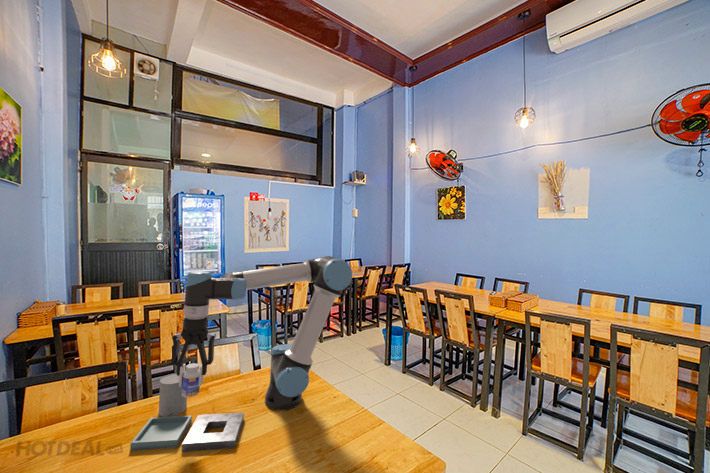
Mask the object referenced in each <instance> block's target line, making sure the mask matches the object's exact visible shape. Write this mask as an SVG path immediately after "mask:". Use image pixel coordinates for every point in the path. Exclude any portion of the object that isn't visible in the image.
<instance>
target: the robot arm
mask: <svg viewBox="0 0 710 473" xmlns="http://www.w3.org/2000/svg"><path fill="white" fill-rule="evenodd" d="M352 280H353V270H352V267H351V266H350V265H349V263H348V262H347V261H345V260H344V259H342V258H339V257H334V256H330V255H328V256H322V257H317V258H312V259H307V260H305V261H304V262H302V263H296V264H288V265H281V266H275V267H267V268H259V269H253V270H252V269H251V270H244V271H239V272H226V273H224V274H222V275H221V277H212V273H211V272H210V271H203V270H202V271H201V270H196V271H195V270H194V271H189V272H188V273H187V276H186V283H185V289H184V290H185V293H184V294H185V295H184V305H183V306H184V307H183V309H184V310H183V320H182V321H183V322H182V331H181V332H180V333H175V334H173V335H172V336H171V338H172V342H173V344H172V351H171V365H172V366H173V365H175V366H176V373H177V376H180V377H179V386H182V382H183V374H184V372H186V363H184V361H185V359H186V356H187V353H188V350H189V348H190V346H191V345H195V346H196V347H197V349H198V352H199V358H200V363H201V364H200V365H199V369H198V370H199V382H198V386H200V387H201V386H202V385H203V383H204V376H206V374H207V371H208V365H212V363H213V362H214V359H215V358H214V356H215V355H214V354H215V353H214V352H215V339H216V337H217V335H216V333H209V330H208V321H209V318H208V316H209V308H210V300H234V301H236V300H244V299H245V298H246V295H247V291H249V290H254V289H255V290H256V289H261V288H266V287H267V288H268V287H274V286H281V285H286V284H292V283H299V282H304V281H305V282H308V283H313V282H314V283H313V287H314V291H313V295H312V297H311V299H310V302H309V305H308V306H307V309H306V310H305V314H304V316H303V318H302V320H301V323H300V325H299V328H298V330H297V331H296V334H295V336H294V339H293V341H292V343H291V344H290V343H286V344H285V343H284V344H278V345H275V346H273V347H272V349H271V353H270V356H271V358H270V375H269V376H270V378H269V381H270V382H269V384H268V388H267V389H266V393H265V396H264V404H265V406H266V407H267V408H269V409H271V410H274V411H275V410H276V411H287V410H290V409H293V408H295V406H296V407H298V406H299V405H300V404H301V403H302V398H303V393H304V392H305V391H306V389H307V388H308V386H309V383H310V374H309V372H310V370H311V367H312V365H313V362H314V361H313V359H312V355H313V353H314V350H315V348H316V345H317V343H318V340H319V338H320V336H321V333H322V332H323V329H324V326H325V324H326V322H327V319H328V317H329V315H330V312H331V310H332V307H333V305H334V302H335V300H336V299H337V298H339V297H341V296H342V293H343V291H344V289H346V288H347V287H349V286H350V284H351V283H352ZM206 338H207V341H208V346H207V347H208V350H207V351H206V347H205V341H204V340H205V339H206ZM181 339H183V341H184V344H183V347H182V350H181V353H180V356H179V352H180V341H181ZM206 352H207V353H206ZM299 403H300V404H299ZM298 404H299V405H298Z"/></svg>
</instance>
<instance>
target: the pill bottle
mask: <svg viewBox="0 0 710 473" xmlns="http://www.w3.org/2000/svg"><path fill="white" fill-rule="evenodd" d="M199 368H200V364H199V363H196V362H195V363H188V364H187V365H185V372H184V374H183V382H182V396H183V397H187V398H193V397H196V396H198V395H199V393H200V388H201V386H198V382H199Z"/></svg>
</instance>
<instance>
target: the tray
mask: <svg viewBox="0 0 710 473" xmlns="http://www.w3.org/2000/svg"><path fill="white" fill-rule="evenodd" d="M192 416H193V415H175V416H170V417H163V416H157V417H156V416H155V417H153V416H152V417H150V418H149V419H148V421H147V422H146V423H145V425H144V426H143V427H142V428H141V429H140V431H139V432H138V433H137V434H136V436H135V437H134V438H133V439H132V440H131V442H130V443H129V444H130V446H129V447H130V452H131V451H147V450H161V449H162V450H163V449H177V448H178V446H179V444H180V443H181V442H182V439H183V438H184V436H185V434H186V433H187V431H188V430H189V427H190V426H191V424H192V420H193V417H192Z"/></svg>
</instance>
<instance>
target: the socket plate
mask: <svg viewBox="0 0 710 473" xmlns="http://www.w3.org/2000/svg"><path fill="white" fill-rule="evenodd" d="M244 417H245V412H230V413H229V412H228V413H211V414H210V413H207V414H205V413H204V414H198V415H197V417H196V418H195V420H194V422H193V424H192V426H191V427H190V429H189V431H188V433H187V435H186V436H185V438H184V440H183V442H182V443H181V452H182V453H184V452H186V453H187V452H201V451H213V450H228V449H229V450H230V449H235V448H236V445H237V441H238V438H239V435H240V432H241V429H242V425H243V423H244ZM213 429H223V431H222V432H208V430H213Z"/></svg>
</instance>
